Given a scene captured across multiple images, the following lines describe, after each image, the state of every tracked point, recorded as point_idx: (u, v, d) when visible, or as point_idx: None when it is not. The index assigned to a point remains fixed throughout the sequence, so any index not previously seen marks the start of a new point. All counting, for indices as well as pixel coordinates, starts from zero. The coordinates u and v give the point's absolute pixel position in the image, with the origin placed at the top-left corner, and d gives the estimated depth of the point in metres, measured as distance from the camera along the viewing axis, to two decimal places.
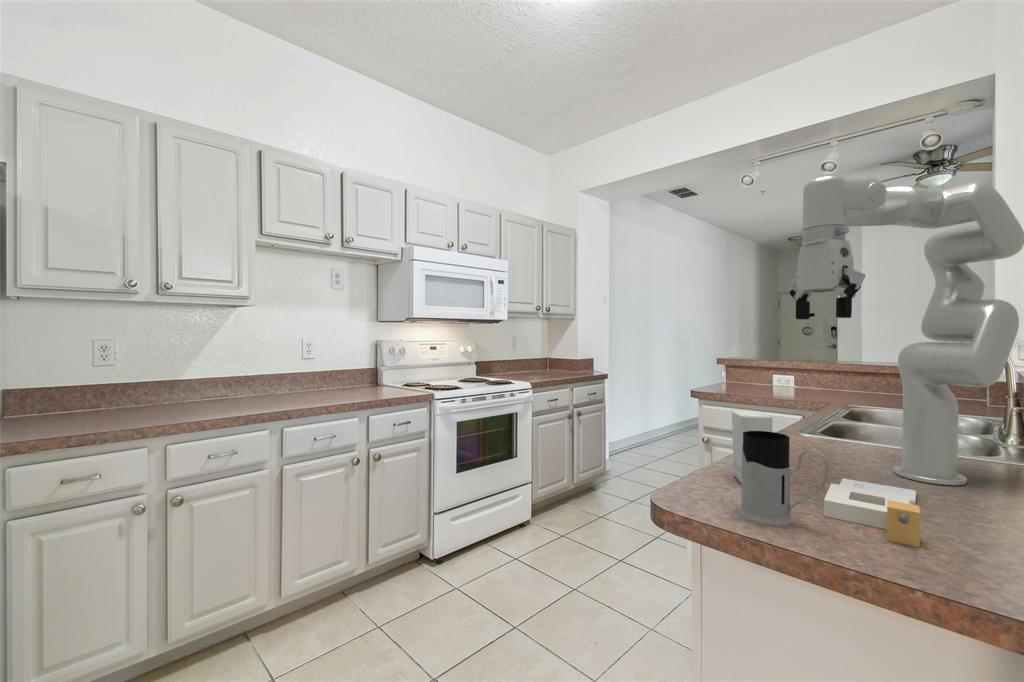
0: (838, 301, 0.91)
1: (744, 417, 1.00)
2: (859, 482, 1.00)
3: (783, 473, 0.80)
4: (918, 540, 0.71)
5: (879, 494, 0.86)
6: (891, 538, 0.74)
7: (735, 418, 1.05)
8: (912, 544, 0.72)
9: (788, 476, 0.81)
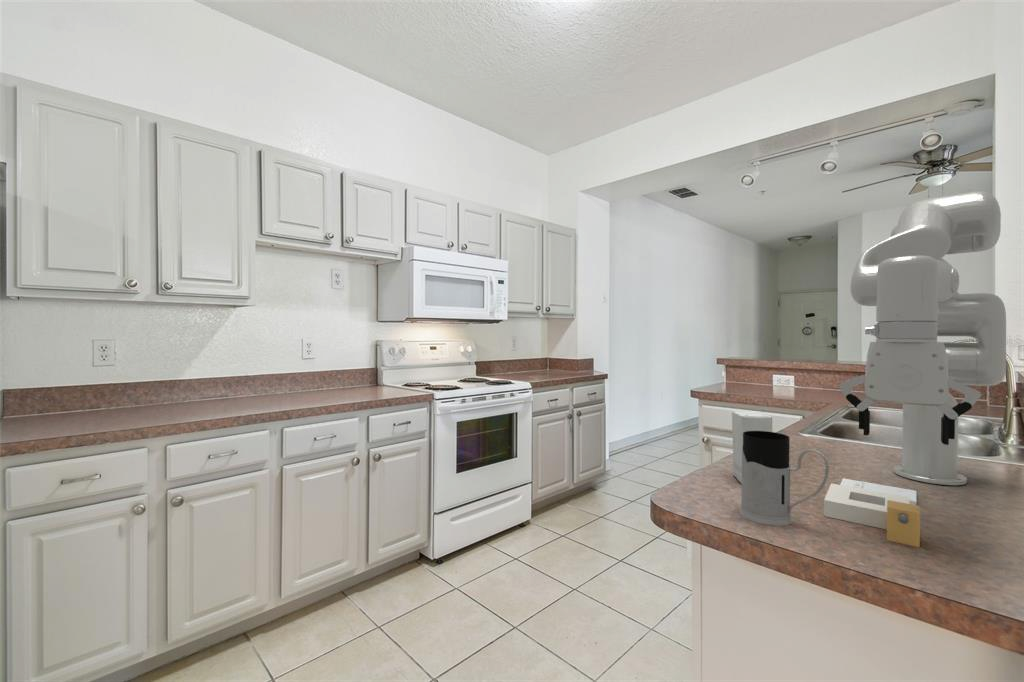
0: None
1: (744, 417, 1.00)
2: (859, 482, 1.00)
3: (783, 473, 0.80)
4: (918, 540, 0.71)
5: (879, 494, 0.86)
6: (891, 538, 0.74)
7: (735, 418, 1.05)
8: (912, 544, 0.72)
9: (788, 476, 0.81)
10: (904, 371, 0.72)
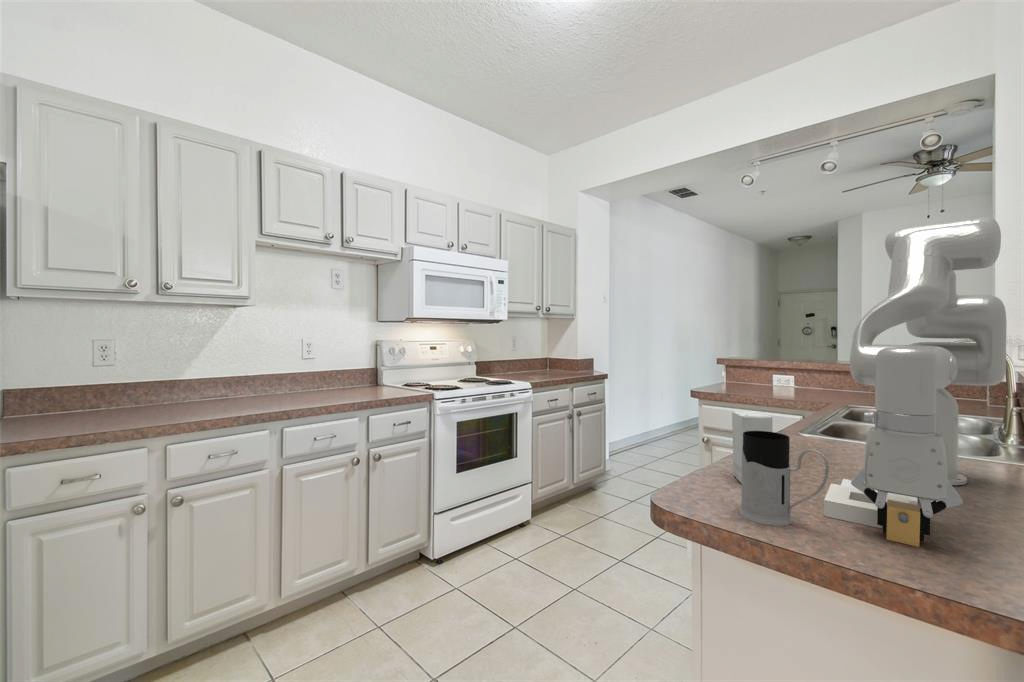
0: None
1: (744, 417, 1.00)
2: None
3: (783, 473, 0.80)
4: (918, 539, 0.71)
5: None
6: (891, 537, 0.74)
7: (735, 418, 1.05)
8: (912, 544, 0.72)
9: (788, 476, 0.81)
10: (903, 463, 0.72)
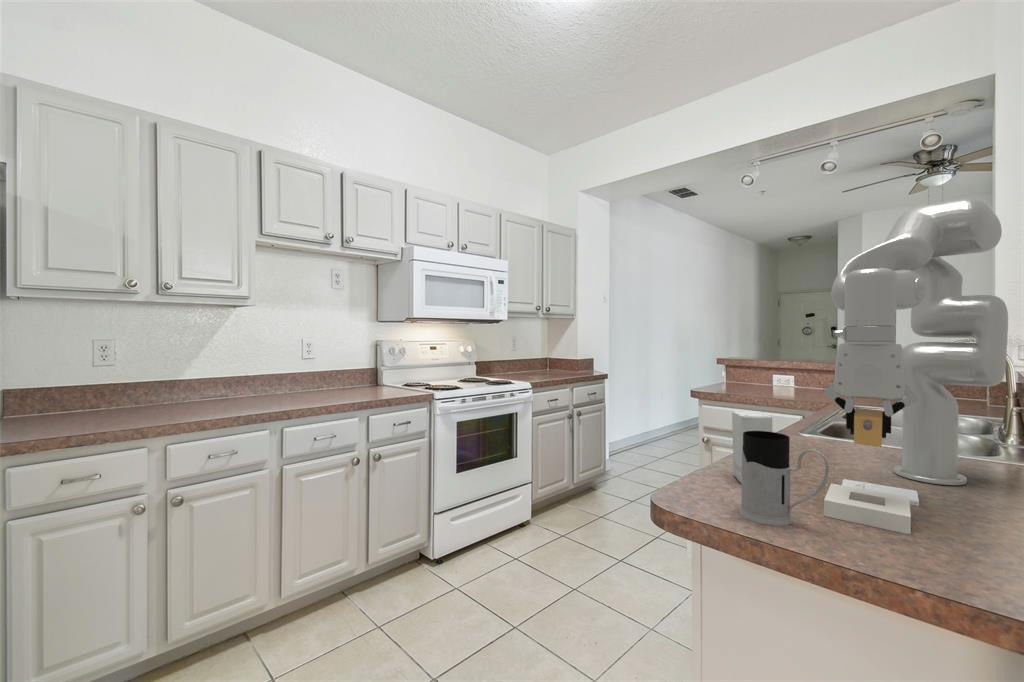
0: None
1: (744, 417, 1.00)
2: (860, 483, 0.99)
3: (783, 473, 0.80)
4: (880, 441, 0.82)
5: (879, 494, 0.86)
6: (857, 441, 0.84)
7: (735, 418, 1.05)
8: (875, 445, 0.82)
9: (788, 476, 0.81)
10: (867, 369, 0.82)
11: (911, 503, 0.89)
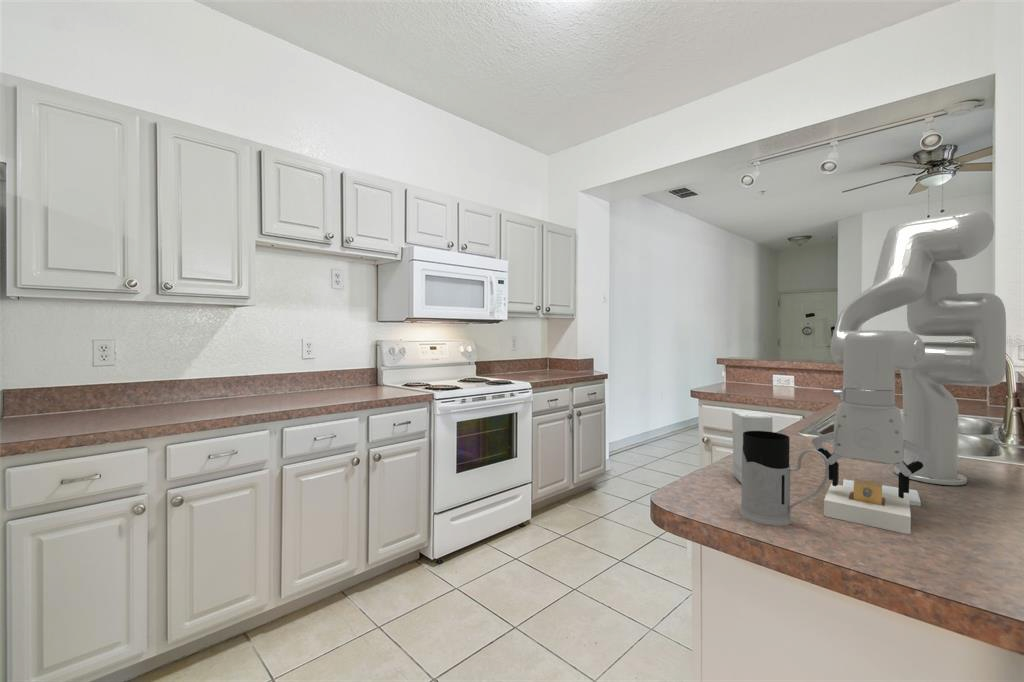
0: None
1: (744, 417, 1.00)
2: None
3: (783, 473, 0.80)
4: None
5: None
6: None
7: (735, 418, 1.05)
8: None
9: (788, 476, 0.81)
10: (866, 433, 0.82)
11: (913, 503, 0.89)
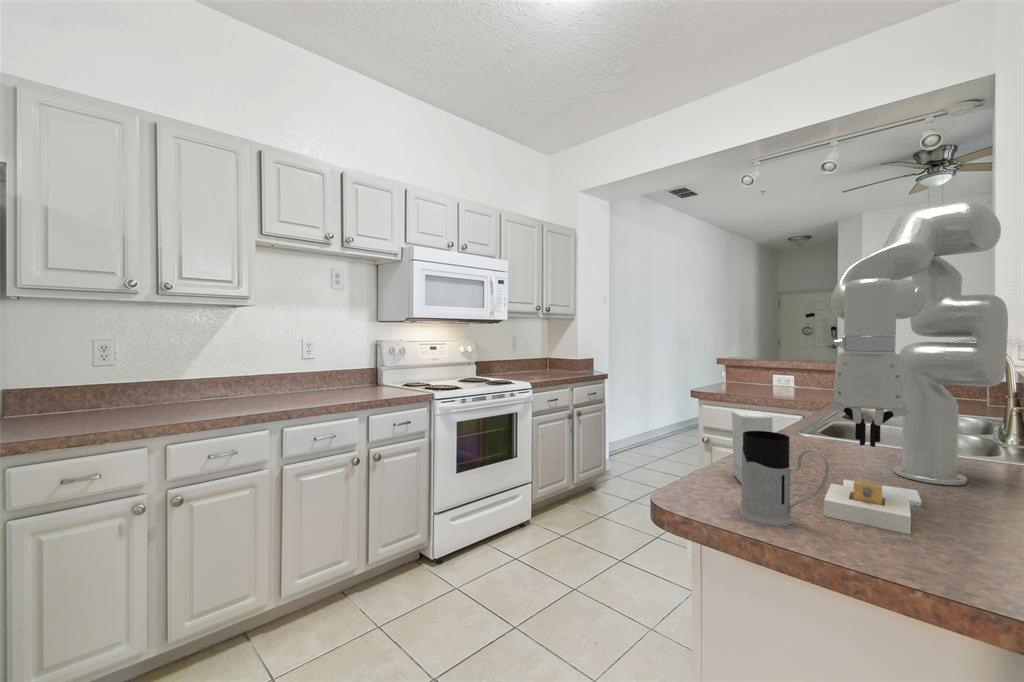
0: None
1: (744, 417, 1.00)
2: None
3: (783, 473, 0.80)
4: None
5: None
6: None
7: (735, 418, 1.05)
8: None
9: (788, 476, 0.81)
10: (867, 379, 0.82)
11: (913, 503, 0.89)
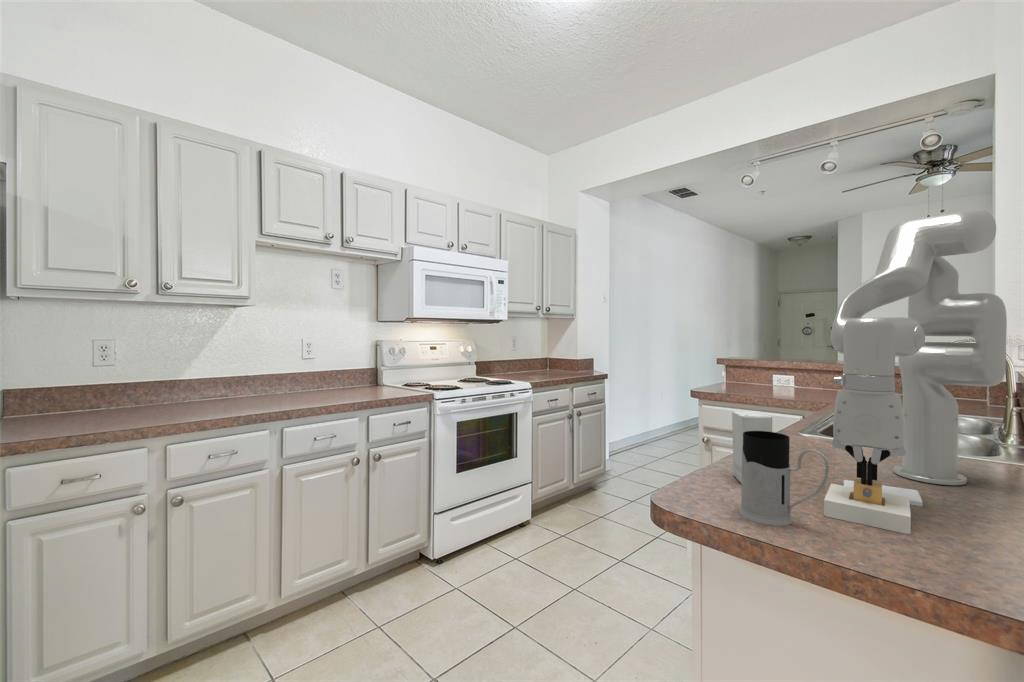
0: None
1: (744, 417, 1.00)
2: None
3: (783, 473, 0.80)
4: None
5: None
6: None
7: (735, 418, 1.05)
8: None
9: (788, 476, 0.81)
10: (866, 418, 0.82)
11: (915, 504, 0.89)
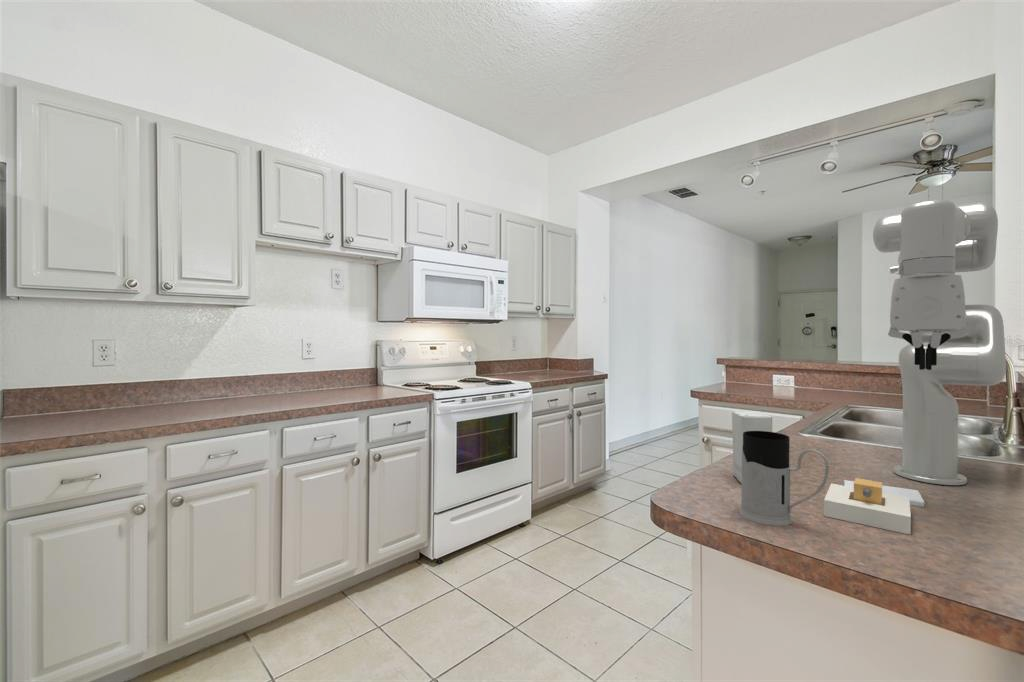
0: None
1: (744, 417, 1.00)
2: None
3: (783, 473, 0.80)
4: None
5: None
6: None
7: (735, 418, 1.05)
8: None
9: (788, 476, 0.81)
10: (926, 302, 0.82)
11: (916, 504, 0.89)
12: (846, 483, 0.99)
